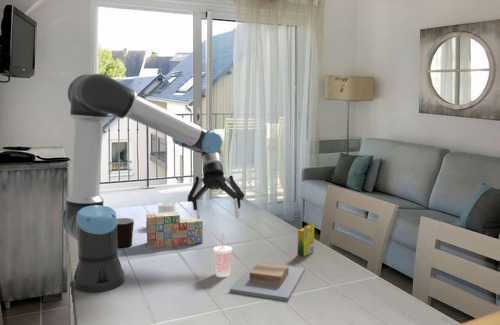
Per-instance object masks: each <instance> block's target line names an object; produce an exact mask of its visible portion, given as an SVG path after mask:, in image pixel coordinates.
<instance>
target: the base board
mask: <svg viewBox="0 0 500 325" xmlns="http://www.w3.org/2000/svg"><path fill="white" fill-rule="evenodd" d="M258 262H259V261H258ZM258 262H257V261H252V263H251V265H250V266H248V267H247V269H246V270H245V271H244V272H243V273H242V274H241V275H240V277H239V278H238V279H237V280H236V281H235V282H234V283H233V285H232V286H231V287H230V288H229V292H230V293H234V294H241V295H248V296H252V297H253V296H254V297H260V298H266V299H272V300H273V299H274V300H279V301H286V302H289V300H290V298H291V297H292V295H293V293H294V291H295V289H296V288H297V285H298V284H299V283H300V281H301V279H302V277H303V275H304V273H305V268H304V267H298V266H289V267H288V276H287V277H286V279H285V280H284V282H283V283H282V285H281V286H275V285H268V284H261V283H254V282H250V272H251V271H252V269H253V268H254V267H255V266H256V265H257V264H258Z"/></svg>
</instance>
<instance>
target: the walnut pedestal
mask: <svg viewBox="0 0 500 325" xmlns="http://www.w3.org/2000/svg"><path fill="white" fill-rule="evenodd" d="M288 267H289V265H287V264H280V263H271V262H265V261H263V262H262V261H258V264H257V265H256V266H255V267H254V268H253V269H252V271H251V272H250V282H254V283H261V284H268V285H275V286H281V285H282V283H283V282H284V280H285V279H286V277H287V276H288Z"/></svg>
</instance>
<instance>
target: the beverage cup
mask: <svg viewBox="0 0 500 325" xmlns="http://www.w3.org/2000/svg"><path fill="white" fill-rule="evenodd" d="M213 252H214V254H213V255H214V267H215V268H214V269H215V276H216V277H218V278H226V277H229V276H230V274H231V273H230V272H231V260H232V252H233V247H232V246H229V245H224V232H223V233H222V234H221V244H219V245H216V246H214V247H213Z"/></svg>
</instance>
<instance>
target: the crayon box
mask: <svg viewBox="0 0 500 325" xmlns="http://www.w3.org/2000/svg"><path fill="white" fill-rule="evenodd" d="M313 253H315V222H312V223H309V224H306V225H305V226H303V228H300V229H298V230H297V256H298V257H303V258H305V257H306V256H309V255H311V254H313Z"/></svg>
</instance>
